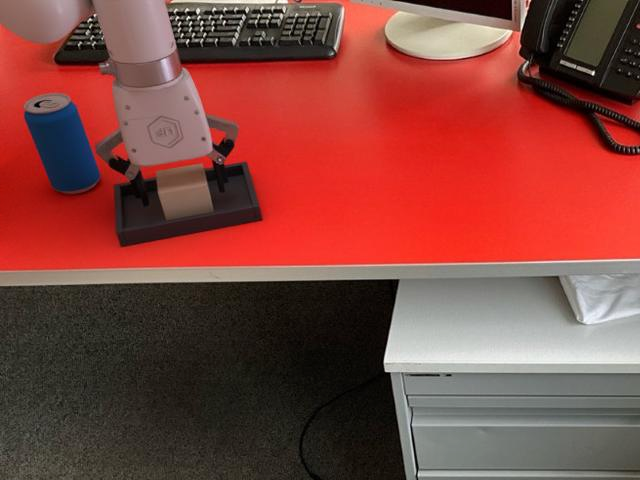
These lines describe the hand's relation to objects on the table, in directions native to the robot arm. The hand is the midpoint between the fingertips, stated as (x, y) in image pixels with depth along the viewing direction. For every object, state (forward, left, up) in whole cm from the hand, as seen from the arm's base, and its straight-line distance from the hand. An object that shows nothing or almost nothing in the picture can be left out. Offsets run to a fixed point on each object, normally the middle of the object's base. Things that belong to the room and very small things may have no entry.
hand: (184, 194), depth 116 cm
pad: (0, 0, -2) cm, 2 cm away
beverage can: (-14, +12, -2) cm, 19 cm away
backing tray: (0, 0, -2) cm, 2 cm away
